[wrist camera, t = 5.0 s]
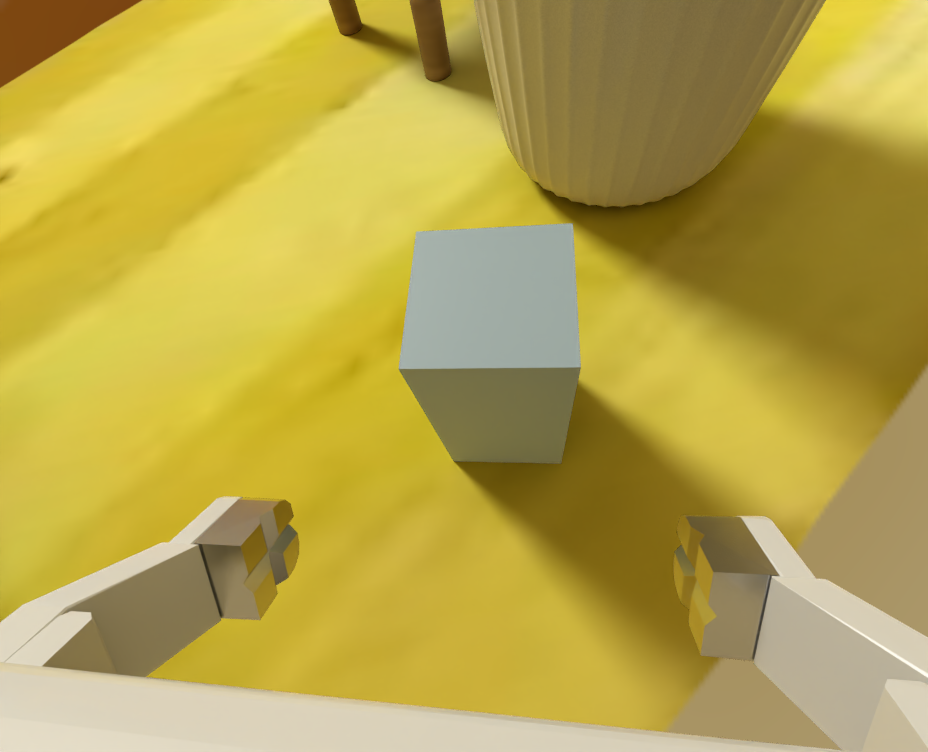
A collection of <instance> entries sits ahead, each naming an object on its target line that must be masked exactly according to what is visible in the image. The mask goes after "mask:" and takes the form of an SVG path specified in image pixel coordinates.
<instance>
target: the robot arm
mask: <svg viewBox="0 0 928 752" xmlns="http://www.w3.org/2000/svg"><path fill="white" fill-rule="evenodd" d="M293 517H294V515H293V511H292V507H291V504H290V503H289V502H288V501H286V500H283V499H267V498H250V497H244V498H243V497H228V496H225V497H221V498H217V499H216V500H215V501H214V502H213V503H212V504H211V505H210V506H209V507H207V508H206V509H205V510H204V511H203V512H202V513H201V514H200V515H199V516H198V517H196V518H195V519H194V520H193V521H192V522H191V523H190V524H189V525H188V526H187V527H185V528H184V529H183V530H182V531H181V532H180V533H179V534H178V535H177V536H176V537H174V538H173V539H172V540H171V541H170V542H169V543H160V544H158V545H155V546H153V547H151V548H149V549H146V550H144V551H142V552H140V553H138V554H135V555H133V556H131V557H129V558H126V559H124V560H122V561H120V562H117V563H115V564H113V565H111V566H109V567H106V568H104V569H102V570H100V571H97V572H95V573H93V574H91V575H88V576H86V577H84V578H82V579H79V580H77V581H75V582H73V583H71V584H68V585H66V586H64V587H62V588H59V589H57V590H55V591H53V592H50V593H48V594H46V595H44V596H42V597H39V598H37V599H35V600H33V601H30V602H28V603H26V604H24V605H22V606H21V607H19V608H18V609H17V610H16V611H14V612H13V613H12V614H10V615H9V616H8V617H7V618H5V619H4V620H3V621H1V622H0V752H928V638H927V637H926V636H924V635H922V634H921V633H919V632H917V631H915V630H914V629H912V628H910V627H908V626H907V625H905V624H903V623H902V622H900V621H898V620H896V619H894V618H893V617H891V616H889V615H887V614H886V613H884V612H882V611H881V610H879V609H877V608H875V607H874V606H872V605H870V604H868V603H867V602H865V601H863V600H861V599H859V598H858V597H856V596H854V595H853V594H851V593H849V592H848V591H846V590H844V589H842V588H841V587H839V586H837V585H835V584H834V583H832V582H830V581H828V580H827V579H816V577H815V576H814V575H813V573H812V572H811V571H810V570H809V568H808V567H807V566H806V564H805V563H804V562H803V560H802V559H801V558H800V557H799V555H798V554H797V553H796V551H795V550H794V549H793V547H792V546H791V545H790V544H789V542H788V541H787V540H786V538H785V537H784V536H783V535H782V533H781V532H780V531H779V529H778V528H777V527H776V525H775V524H774V523H773V522H772V520H771V519H769V518H767V517H766V516H736V517H730V516H694V515H681V516H680V518H679V521H678V526H677V535H678V537H679V539H680V542H681V544H682V545H681V546H680V547H679V548H678V549H677V550H676V551H675V552H674V562H673V570H674V582H675V586H676V590H677V594H678V597H679V600H680V602H681V604H682V605H684V606H685V607H686V608H687V609H688V610H690V613H689V621H688V624H689V627H690V629H691V632H692V635H693V637H694V640H695V642H696V645H697V648H698V650H699V653H700V655H701V656H710V657H720V658H729V659H738V660H748V661H754V665H755V666H756V667H757V668H758V669H759V670H760V671H761V672H762V673H764V674H765V675H766V676H767V677H768V678H769V679H770V680H771V681H772V682H773V683H774V684H775V685H776V686H777V687H778V688H779V689H780V690H781V691H782V692H783V693H784V694H785V695H786V696H787V697H788V698H789V699H790V700H791V701H792V702H793V703H794V704H795V705H796V706H797V707H798V708H799V709H800V710H802V712H804V713H805V715H807V716H808V717H809V718H810V719H811V720H812V721H813V722H814V723H815V724H816V725H817V726H818V727H819V728H820V729H821V730H822V731H823V732H824V733H825V734H826V735H827V736H828V737H829V738H830V739H831V740H832V741H833V742H834V743H835V744H836V745H837V746H838V747H839V748H840V749H841V750H834V749H825V748H814V747H805V746H796V745H787V744H777V743H768V742H758V741H748V740H739V739H729V738H719V737H709V736H699V735H690V734H680V733H671V732H661V731H652V730H642V729H633V728H624V727H614V726H605V725H595V724H586V723H577V722H567V721H558V720H548V719H539V718H530V717H520V716H511V715H501V714H492V713H483V712H473V711H463V710H454V709H444V708H435V707H425V706H416V705H406V704H396V703H387V702H377V701H368V700H358V699H349V698H339V697H329V696H320V695H310V694H301V693H291V692H282V691H272V690H262V689H253V688H243V687H234V686H224V685H215V684H205V683H196V682H186V681H177V680H167V679H158V678H148V677H146V676H147V675H149V674H150V673H151V672H153V671H154V670H155V669H157V668H158V667H159V666H161V665H162V664H163V663H165V662H166V661H167V660H169V659H170V658H171V657H173V656H174V655H175V654H177V653H178V652H179V651H181V650H182V649H183V648H185V647H186V646H187V645H189V644H190V643H191V642H193V641H194V640H195V639H197V638H198V637H199V636H201V635H202V634H204V633H205V632H206V631H208V630H209V629H210V628H212V627H213V626H214V625H216V624H217V623H218V622H220V621H221V618H230V619H251V620H261V618H262V617H263V615H264V614H265V612H266V611H267V609H268V608H269V606H270V605H271V603H272V602H273V600H274V599H275V597H276V596H277V594H278V593H277V587H276V585H278V584H279V583H281V582H282V581H284V580H286V579H287V578H289V576H290V574H291V573H292V571H293V570H294V568H295V566H296V562H297V559H298V555H299V539H298V534H297V532H296V531H295V530H294V529H293V528H292V527H291V526H290V525H289V523H290V522H291V520H292V518H293Z"/></svg>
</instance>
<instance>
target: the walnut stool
mask: <svg viewBox="0 0 928 752" xmlns="http://www.w3.org/2000/svg"><path fill="white" fill-rule="evenodd" d="M329 3H330V5H331V8H332V11H333V14H334V17H335V20H336V23H337V26H338V29H339V31H340V33H341V34H343V35H351V34H354V33H356V32H358V31H359V30H360V29H361V28H362V23H361V20H360V16H359V13H358V10H357V6H356V3H355V0H329ZM410 5H411V10H412V14H413V19H414V24H415V29H416V33H417V38H418V43H419V48H420V52H421V57H422V62H423V67H424V71H425V76H426V78H427V79H429V80H431V81H440V80H443V79H445V78H447V77H448V76H449V75H450V73H451V65H450V59H449V52H448V46H447V40H446V33H445V27H444V21H443V15H442V8H441V2H440V0H410Z"/></svg>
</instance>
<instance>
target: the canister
mask: <svg viewBox="0 0 928 752" xmlns="http://www.w3.org/2000/svg"><path fill="white" fill-rule="evenodd" d="M825 1H826V0H474V4H475V10H476V15H477V20H478V25H479V30H480V34H481V39H482V44H483V49H484V54H485V59H486V63H487V68H488V72H489V77H490V81H491V86H492V90H493V95H494V99H495V103H496V108H497V112H498V117H499V120H500V124H501V127H502V130H503V133H504V136H505V139H506V142H507V145H508V147H509V149H510V151H511V153H512V155H513V156H514V157H515V159H516V161H517V163H518V165H519V166H520V167H521V168H522V169H523V170H524V171H525V172H526V173H527V174H528V176H529V177H530V178H531V179H532V180H533V181H535V182H538V183H539V184H540V185H541V187H542V188H543V189H545V190H549V191H552V192H553V193H554V194H555V195H556V196H558V197H565V198H568V199H569V200H570V201H572V202H581V203H584V204H587V205H588V206H590V205H599V206H603V207H605V208H606V207H609V206H618V207H622V208H623V207H625V206H628V205H638V206H640V205H642V204H644V203H646V202H652V201H653V202H656V201H659V200H661V199H663V198H664V197H666V196H673V195H675V194H677V193H679V192H680V191H681V190H682V189H685V188H688V187H690V186H692V185H694V184H695V183H696V182H698V181H699V180H700V179H701V178H702V177H704V176H706V175H707V174H708V173H710V172H711V171H712V170H713V169H714V168H715V167H716V166H717V165H718V164H719V163H720V162H721V160H722V159H724V158H725V157H726V156H727V155H728V153H729V152H730V151H731V150H732V149H733V147H734V146H735V145H736V144H737V142H738V141H739V139H740V138H741V136H742V135H743V133H744V132H745V130H746V129H747V127H748V125H749V124H750V122H751V121H752V119H753V118H754V116H755V114H756V113H757V111H758V110H759V108H760V106H761V105H762V103H763V102H764V100H765V98H766V97H767V95H768V94H769V92H770V91H771V89H772V87H773V86H774V84H775V83H776V81H777V79H778V78H779V76H780V75H781V73H782V71H783V70H784V68H785V67H786V65H787V63H788V62H789V60H790V59H791V57H792V55H793V54H794V52H795V51H796V49H797V47H798V46H799V44H800V42H801V41H802V39H803V37H804V36H805V34H806V32H807V31H808V29H809V27H810V26H811V24H812V22H813V21H814V19H815V18H816V16H817V14H818V13H819V11H820V9H821V8H822V6H823V4H824V3H825Z"/></svg>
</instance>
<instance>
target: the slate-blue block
mask: <svg viewBox="0 0 928 752" xmlns="http://www.w3.org/2000/svg"><path fill="white" fill-rule="evenodd" d="M580 368H581V364H580V346H579V328H578V310H577V291H576V273H575V255H574V237H573V223H571V224H553V225H534V226H515V227H497V228H478V229H459V230H441V231H422V232H416V239H415V247H414V255H413V262H412V270H411V278H410V286H409V293H408V301H407V309H406V317H405V324H404V332H403V340H402V347H401V355H400V363H399V370H400V372H401V374H402V375H403V377H404V379H405V380H406V382H407V384H408V385H409V387H410V389H411V390H412V392H413V394H414V395H415V397H416V399H417V401H418V402H419V404H420V406H421V407H422V409H423V411H424V412H425V414H426V416H427V417H428V419H429V421H430V422H431V424H432V426H433V427H434V429H435V431H436V432H437V434H438V436H439V437H440V439H441V441H442V442H443V444H444V446H445V447H446V449H447V451H448V452H449V454H450V456H451V458H452V459H453V461H459V462H507V463H555V464H561V462H562V457H563V452H564V447H565V442H566V437H567V432H568V427H569V422H570V418H571V413H572V408H573V403H574V398H575V393H576V388H577V383H578V378H579V373H580Z"/></svg>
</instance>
